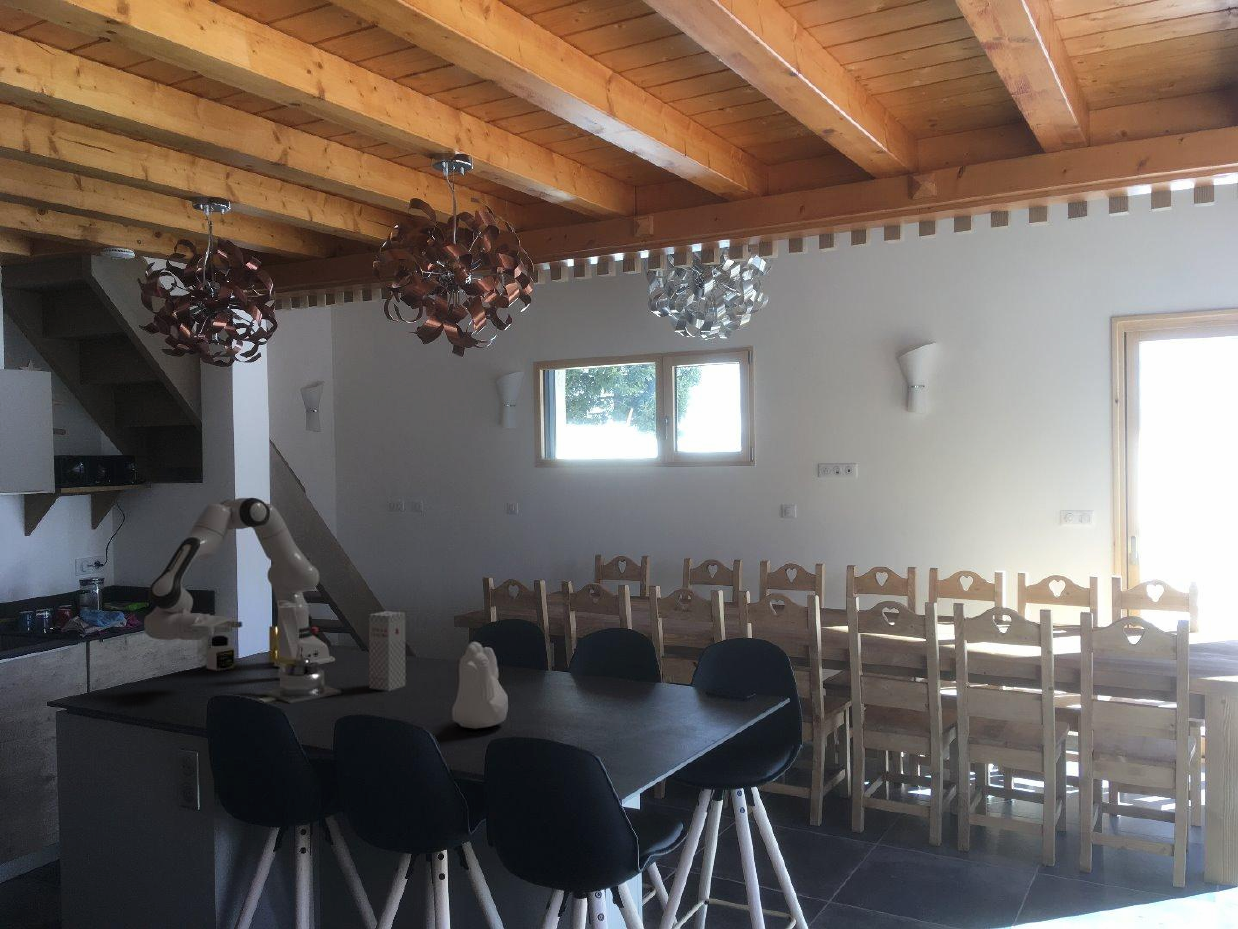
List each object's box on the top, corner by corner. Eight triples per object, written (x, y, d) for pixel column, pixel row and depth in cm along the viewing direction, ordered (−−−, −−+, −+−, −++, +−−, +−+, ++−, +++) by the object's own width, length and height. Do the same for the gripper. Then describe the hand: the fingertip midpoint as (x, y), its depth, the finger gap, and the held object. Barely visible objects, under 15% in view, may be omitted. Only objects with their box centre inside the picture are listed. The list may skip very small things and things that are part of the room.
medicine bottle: (216, 671, 361) (216, 638, 361) (206, 668, 366) (206, 636, 366) (234, 667, 367) (234, 635, 367) (223, 665, 371) (223, 633, 371)
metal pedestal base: (313, 685, 337) (313, 665, 337) (340, 693, 325) (340, 672, 325) (263, 694, 324) (263, 673, 324) (290, 703, 312) (290, 681, 312)
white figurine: (489, 737, 272) (489, 647, 272) (440, 732, 277) (439, 644, 277) (529, 715, 295) (528, 633, 295) (482, 711, 301) (482, 630, 301)
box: (405, 685, 336) (405, 612, 336) (388, 690, 328) (388, 616, 328) (386, 683, 340) (386, 611, 340) (369, 688, 332) (369, 614, 332)
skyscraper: (285, 681, 343) (284, 601, 343) (271, 678, 348) (271, 599, 348) (305, 677, 350) (305, 599, 350) (292, 674, 355) (292, 597, 355)
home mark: (269, 698, 319) (269, 696, 319) (276, 700, 316) (276, 699, 316) (256, 700, 316) (256, 699, 316) (263, 702, 313) (263, 701, 313)
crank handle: (324, 670, 327) (324, 627, 327) (303, 676, 318) (303, 632, 318) (281, 665, 334) (281, 624, 334) (259, 671, 325) (259, 628, 325)
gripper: (181, 621, 318) (224, 621, 318) (206, 613, 338) (247, 613, 339) (181, 641, 318) (224, 641, 318) (206, 631, 338) (247, 631, 339)
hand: (236, 626), depth 329 cm, fingers open, 8 cm apart
